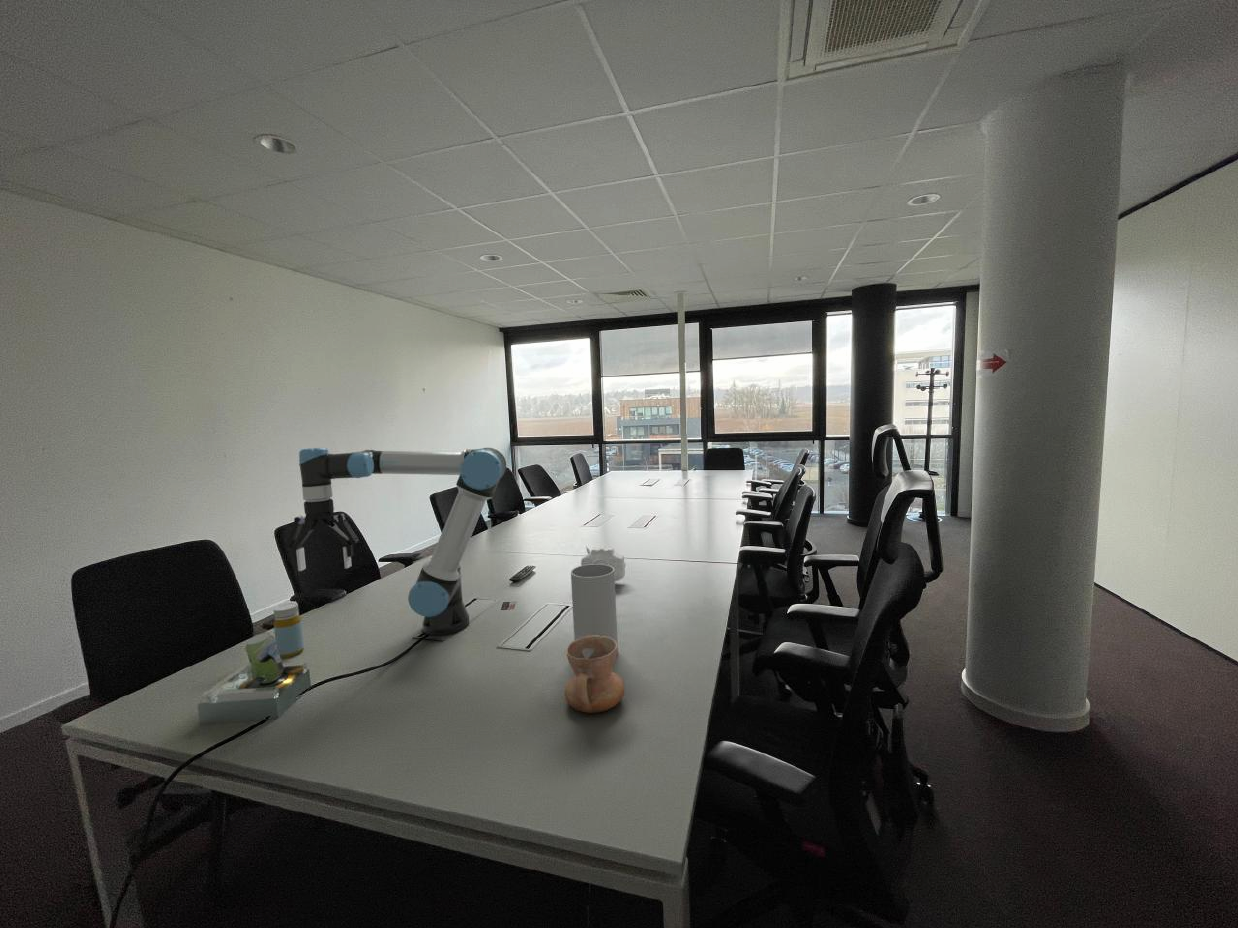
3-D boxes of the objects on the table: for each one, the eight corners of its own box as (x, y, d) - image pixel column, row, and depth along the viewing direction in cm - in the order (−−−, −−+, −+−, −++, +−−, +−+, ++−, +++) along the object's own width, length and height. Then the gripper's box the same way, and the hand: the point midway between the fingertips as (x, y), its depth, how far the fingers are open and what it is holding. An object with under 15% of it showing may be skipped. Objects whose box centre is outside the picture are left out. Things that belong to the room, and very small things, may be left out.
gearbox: (311, 686, 132) (308, 661, 132) (278, 718, 118) (275, 690, 118) (241, 691, 131) (238, 666, 131) (200, 724, 117) (196, 696, 117)
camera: (586, 580, 210) (584, 543, 209) (627, 580, 207) (625, 543, 206) (579, 589, 200) (577, 550, 198) (623, 589, 197) (621, 550, 195)
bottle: (290, 659, 149) (285, 611, 148) (271, 658, 151) (266, 610, 149) (309, 648, 156) (304, 602, 155) (291, 647, 157) (285, 602, 156)
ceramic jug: (580, 679, 130) (576, 628, 128) (633, 685, 125) (630, 632, 124) (551, 722, 113) (546, 663, 111) (611, 730, 108) (607, 669, 107)
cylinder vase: (625, 647, 147) (621, 566, 144) (606, 667, 135) (602, 579, 133) (588, 641, 152) (584, 562, 150) (567, 660, 141) (562, 575, 138)
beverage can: (290, 674, 128) (285, 630, 127) (262, 689, 121) (256, 642, 120) (272, 671, 130) (267, 628, 129) (244, 686, 123) (238, 640, 122)
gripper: (366, 495, 152) (372, 562, 154) (282, 499, 151) (290, 567, 153) (355, 499, 145) (361, 569, 147) (267, 503, 143) (274, 574, 145)
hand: (325, 568), depth 150 cm, fingers open, 13 cm apart
